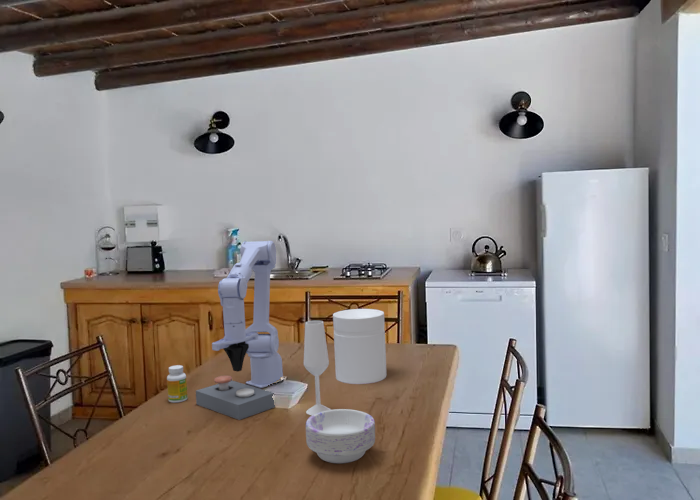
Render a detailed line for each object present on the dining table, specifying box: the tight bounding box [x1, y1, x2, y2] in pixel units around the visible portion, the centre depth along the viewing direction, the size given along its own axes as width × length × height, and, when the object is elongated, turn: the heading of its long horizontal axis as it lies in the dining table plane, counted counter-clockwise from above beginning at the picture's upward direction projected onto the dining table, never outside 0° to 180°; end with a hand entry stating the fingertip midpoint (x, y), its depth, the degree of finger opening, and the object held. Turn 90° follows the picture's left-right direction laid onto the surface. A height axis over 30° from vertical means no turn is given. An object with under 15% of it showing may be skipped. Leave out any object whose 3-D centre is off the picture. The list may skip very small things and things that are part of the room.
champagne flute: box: [303, 320, 332, 416], centre depth 163 cm, size 7×7×24 cm
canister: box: [332, 308, 387, 385], centre depth 193 cm, size 16×16×20 cm
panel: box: [195, 380, 276, 421], centre depth 171 cm, size 12×20×4 cm, turn 47°
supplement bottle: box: [166, 364, 188, 404], centre depth 178 cm, size 5×5×10 cm
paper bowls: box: [305, 408, 376, 464], centre depth 135 cm, size 15×15×8 cm
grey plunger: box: [236, 389, 254, 398], centre depth 167 cm, size 5×5×4 cm
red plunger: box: [213, 375, 233, 391], centre depth 174 cm, size 5×5×4 cm
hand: (237, 370), depth 169 cm, fingers closed
